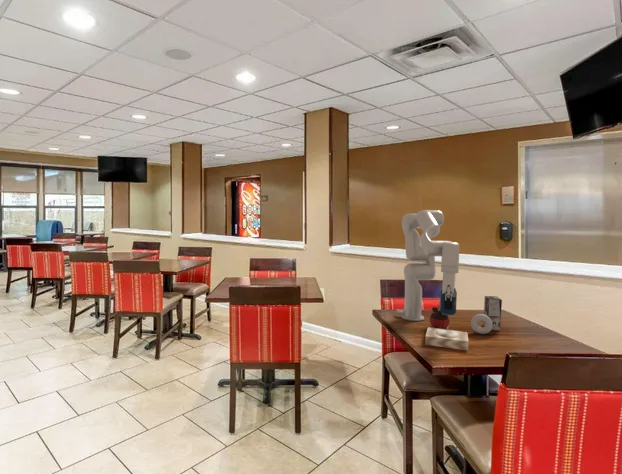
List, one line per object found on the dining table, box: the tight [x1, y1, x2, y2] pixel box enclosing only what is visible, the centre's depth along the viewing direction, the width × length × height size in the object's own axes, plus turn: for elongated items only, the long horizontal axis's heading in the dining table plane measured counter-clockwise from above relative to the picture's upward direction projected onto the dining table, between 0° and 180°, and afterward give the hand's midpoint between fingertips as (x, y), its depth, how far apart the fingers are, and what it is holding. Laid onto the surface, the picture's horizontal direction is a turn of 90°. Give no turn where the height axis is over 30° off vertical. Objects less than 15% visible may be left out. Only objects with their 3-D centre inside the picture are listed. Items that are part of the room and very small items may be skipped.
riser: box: [424, 326, 469, 351], centre depth 170 cm, size 18×14×4 cm
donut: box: [470, 313, 493, 335], centre depth 184 cm, size 10×4×10 cm, turn 66°
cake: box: [429, 294, 450, 330], centre depth 190 cm, size 11×9×18 cm
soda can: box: [440, 286, 458, 316], centre depth 169 cm, size 7×7×12 cm
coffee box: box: [483, 295, 503, 331], centre depth 195 cm, size 9×6×16 cm
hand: (448, 306), depth 169 cm, fingers closed on soda can, 6 cm apart
